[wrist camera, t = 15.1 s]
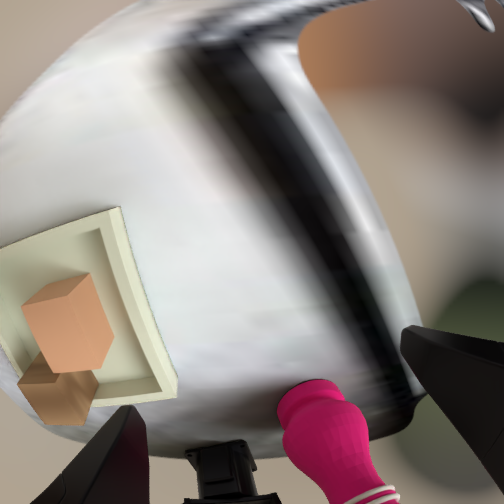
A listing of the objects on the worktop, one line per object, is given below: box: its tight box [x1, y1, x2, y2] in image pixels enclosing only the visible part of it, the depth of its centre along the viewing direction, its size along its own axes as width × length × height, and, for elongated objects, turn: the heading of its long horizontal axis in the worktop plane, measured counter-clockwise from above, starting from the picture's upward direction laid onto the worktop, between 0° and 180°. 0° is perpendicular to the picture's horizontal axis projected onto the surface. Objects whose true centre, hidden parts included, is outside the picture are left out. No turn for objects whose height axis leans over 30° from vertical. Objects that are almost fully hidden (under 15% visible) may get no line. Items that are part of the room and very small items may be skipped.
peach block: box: [20, 273, 115, 373], centre depth 16 cm, size 4×4×5 cm
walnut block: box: [17, 351, 99, 425], centre depth 16 cm, size 4×4×5 cm
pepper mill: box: [277, 379, 400, 504], centre depth 14 cm, size 7×7×20 cm
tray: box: [0, 207, 178, 407], centre depth 17 cm, size 14×14×3 cm
